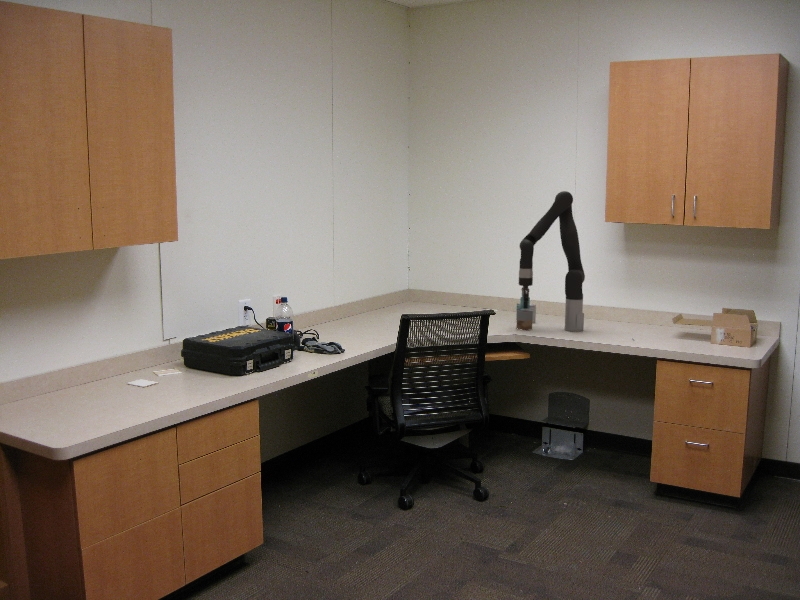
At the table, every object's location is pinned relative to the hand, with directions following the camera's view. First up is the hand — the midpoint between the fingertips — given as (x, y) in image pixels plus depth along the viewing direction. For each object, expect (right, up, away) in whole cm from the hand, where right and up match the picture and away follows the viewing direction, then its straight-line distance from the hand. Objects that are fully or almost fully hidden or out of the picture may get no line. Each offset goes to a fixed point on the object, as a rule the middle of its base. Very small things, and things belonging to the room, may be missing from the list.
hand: (524, 307), depth 441 cm
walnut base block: (0, -12, +2) cm, 12 cm away
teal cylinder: (0, 0, 0) cm, 0 cm away
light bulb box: (+4, -9, +23) cm, 25 cm away
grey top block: (0, -7, +1) cm, 7 cm away
